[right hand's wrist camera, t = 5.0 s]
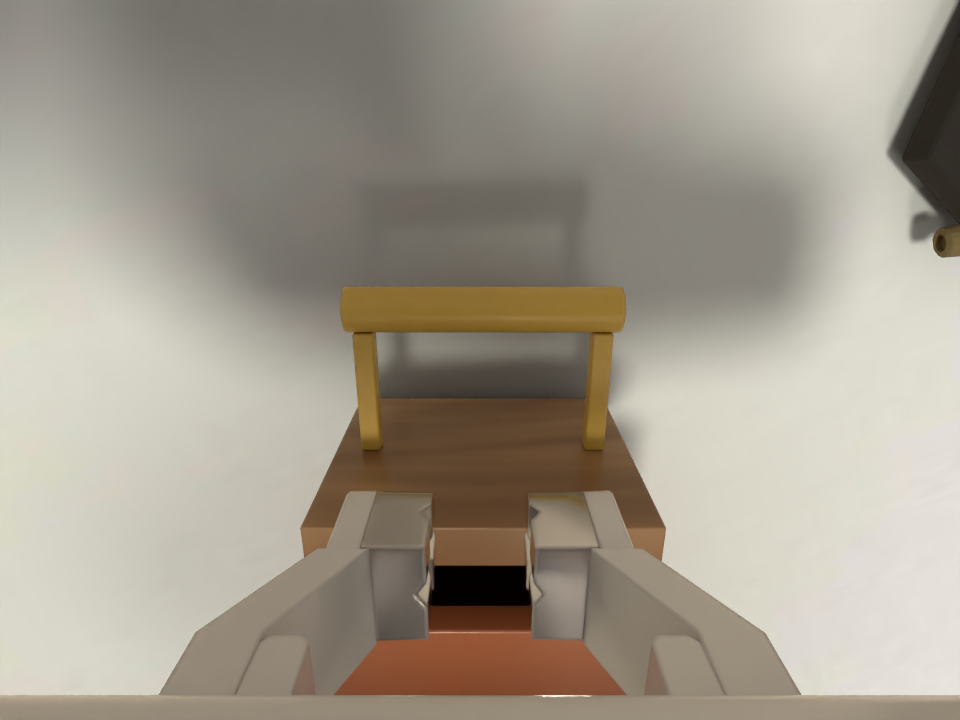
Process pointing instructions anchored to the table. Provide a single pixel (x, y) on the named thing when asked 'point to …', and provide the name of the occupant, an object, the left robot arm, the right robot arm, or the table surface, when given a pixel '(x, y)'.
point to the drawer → (483, 435)
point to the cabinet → (480, 660)
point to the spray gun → (941, 150)
